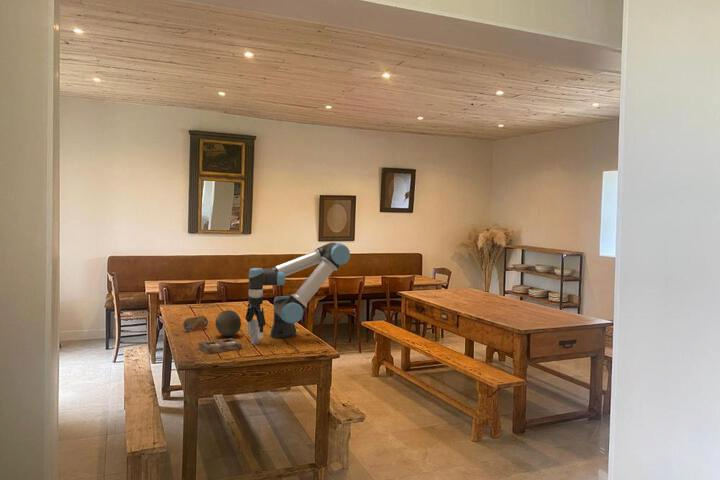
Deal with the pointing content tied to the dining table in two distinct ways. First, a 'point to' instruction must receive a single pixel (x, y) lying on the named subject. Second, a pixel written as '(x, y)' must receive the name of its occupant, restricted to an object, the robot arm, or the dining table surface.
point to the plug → (254, 331)
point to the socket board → (220, 345)
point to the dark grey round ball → (228, 323)
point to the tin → (195, 323)
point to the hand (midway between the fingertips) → (255, 335)
